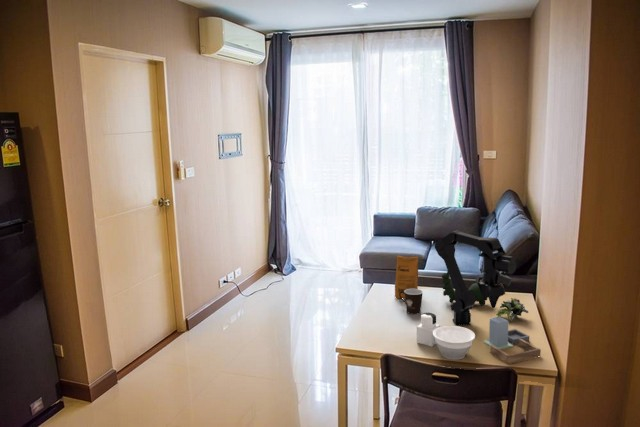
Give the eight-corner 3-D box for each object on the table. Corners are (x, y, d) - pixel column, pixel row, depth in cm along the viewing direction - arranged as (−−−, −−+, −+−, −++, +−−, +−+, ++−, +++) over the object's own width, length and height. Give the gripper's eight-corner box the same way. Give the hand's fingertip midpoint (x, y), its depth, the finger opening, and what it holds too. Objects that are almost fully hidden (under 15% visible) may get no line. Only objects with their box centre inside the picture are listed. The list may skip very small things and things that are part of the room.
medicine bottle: (424, 336, 208) (424, 309, 206) (440, 340, 204) (440, 313, 202) (416, 342, 203) (416, 315, 201) (432, 347, 199) (432, 318, 196)
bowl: (426, 357, 190) (426, 337, 188) (440, 342, 203) (441, 322, 201) (467, 367, 181) (467, 346, 179) (480, 350, 194) (480, 330, 192)
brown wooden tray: (490, 352, 192) (490, 345, 192) (520, 345, 197) (520, 338, 196) (508, 364, 182) (508, 356, 182) (540, 356, 187) (540, 349, 187)
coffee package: (397, 292, 264) (396, 252, 260) (420, 295, 259) (420, 254, 255) (392, 298, 255) (392, 257, 251) (416, 301, 250) (416, 259, 246)
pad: (483, 342, 201) (483, 341, 201) (499, 339, 204) (499, 337, 203) (496, 350, 194) (496, 349, 193) (513, 346, 196) (513, 345, 196)
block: (489, 341, 200) (489, 318, 198) (499, 339, 202) (499, 316, 200) (497, 346, 195) (498, 323, 194) (507, 344, 197) (508, 320, 195)
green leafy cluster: (514, 327, 228) (531, 308, 224) (512, 332, 218) (530, 312, 215) (494, 310, 232) (510, 291, 228) (491, 314, 222) (508, 294, 219)
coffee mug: (426, 313, 234) (426, 292, 232) (410, 316, 231) (410, 295, 229) (413, 305, 245) (412, 285, 243) (397, 308, 242) (397, 288, 240)
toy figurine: (443, 308, 243) (497, 307, 236) (440, 271, 240) (494, 269, 233) (444, 302, 252) (496, 301, 245) (441, 266, 249) (493, 264, 242)
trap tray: (499, 336, 206) (500, 332, 205) (515, 333, 208) (515, 328, 208) (513, 344, 198) (513, 339, 198) (529, 341, 201) (529, 336, 200)
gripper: (518, 274, 195) (517, 311, 198) (501, 261, 214) (500, 295, 216) (490, 275, 195) (489, 312, 198) (475, 262, 214) (474, 296, 216)
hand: (489, 304), depth 207 cm, fingers open, 9 cm apart
